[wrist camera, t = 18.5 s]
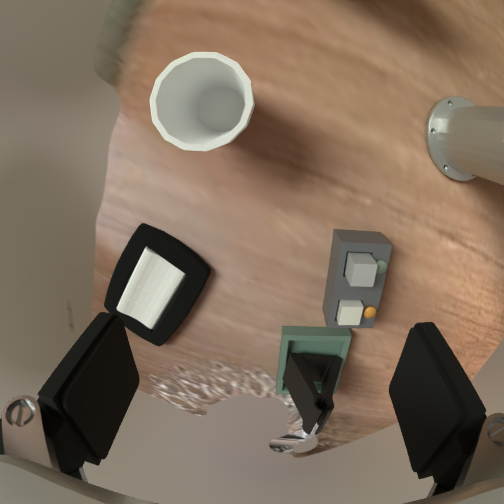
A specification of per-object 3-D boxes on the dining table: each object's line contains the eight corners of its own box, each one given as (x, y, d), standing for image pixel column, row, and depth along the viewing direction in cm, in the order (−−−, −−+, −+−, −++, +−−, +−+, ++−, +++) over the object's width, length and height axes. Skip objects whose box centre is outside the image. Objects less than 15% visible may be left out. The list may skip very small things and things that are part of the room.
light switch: (135, 217, 41) (215, 273, 42) (144, 212, 44) (220, 265, 45) (95, 309, 48) (159, 356, 49) (103, 302, 51) (165, 346, 52)
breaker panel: (380, 232, 41) (393, 246, 36) (364, 309, 46) (373, 330, 41) (333, 229, 41) (342, 243, 36) (322, 308, 46) (327, 330, 41)
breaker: (369, 253, 38) (377, 264, 34) (365, 274, 39) (373, 286, 35) (347, 252, 38) (354, 263, 34) (344, 273, 39) (350, 286, 36)
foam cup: (262, 78, 34) (258, 54, 22) (255, 147, 38) (248, 154, 26) (190, 75, 34) (154, 53, 22) (183, 141, 38) (146, 148, 26)
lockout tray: (348, 327, 47) (351, 336, 45) (333, 385, 53) (335, 394, 51) (282, 325, 48) (282, 335, 46) (276, 384, 53) (275, 393, 51)
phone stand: (282, 376, 49) (282, 432, 38) (290, 351, 47) (292, 409, 36) (331, 381, 49) (340, 435, 38) (342, 357, 47) (355, 412, 36)
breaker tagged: (357, 293, 42) (363, 307, 39) (353, 311, 43) (359, 325, 40) (337, 293, 42) (342, 306, 39) (334, 311, 43) (338, 325, 40)
